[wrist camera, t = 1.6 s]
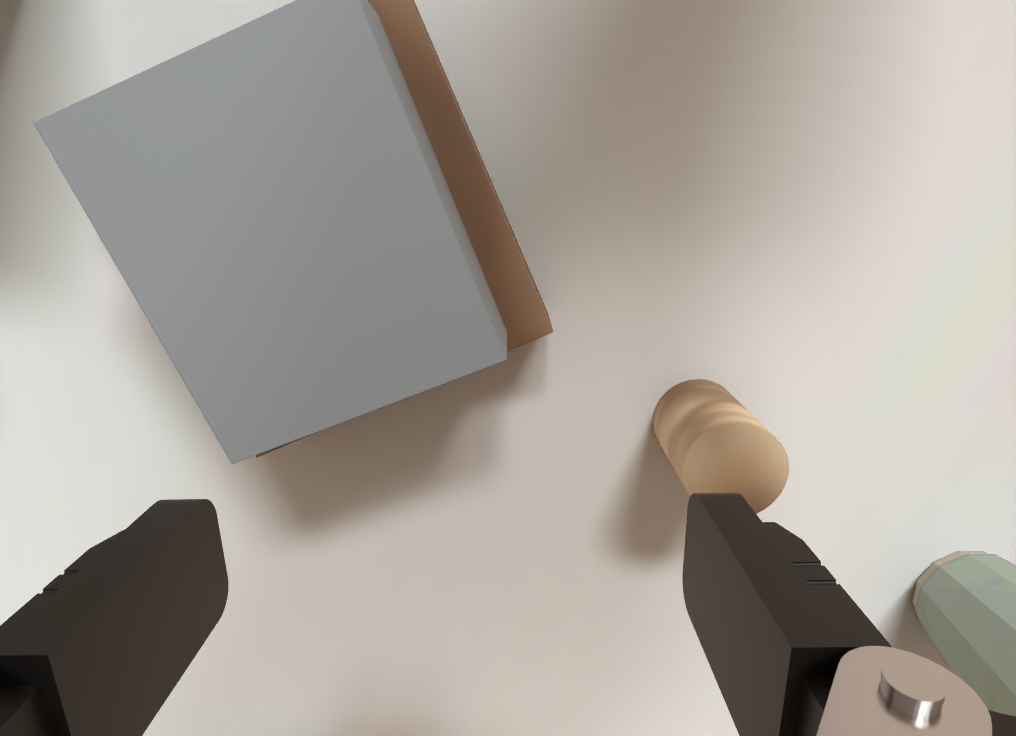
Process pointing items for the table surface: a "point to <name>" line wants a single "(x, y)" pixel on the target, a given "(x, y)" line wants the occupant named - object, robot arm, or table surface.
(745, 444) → the wooden dowel
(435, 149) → the walnut slab
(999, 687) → the disposable coffee cup
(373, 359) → the slate slab
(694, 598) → the robot arm
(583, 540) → the table surface
